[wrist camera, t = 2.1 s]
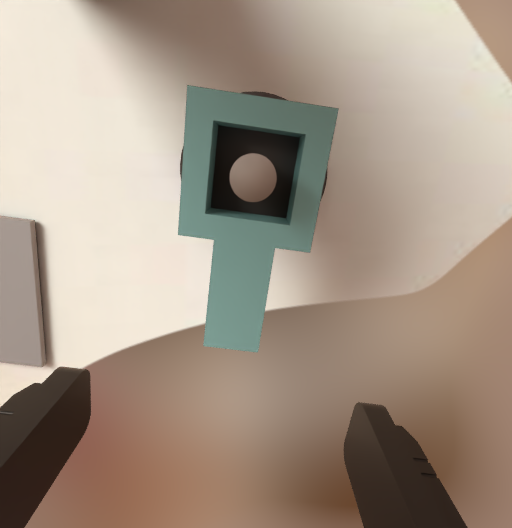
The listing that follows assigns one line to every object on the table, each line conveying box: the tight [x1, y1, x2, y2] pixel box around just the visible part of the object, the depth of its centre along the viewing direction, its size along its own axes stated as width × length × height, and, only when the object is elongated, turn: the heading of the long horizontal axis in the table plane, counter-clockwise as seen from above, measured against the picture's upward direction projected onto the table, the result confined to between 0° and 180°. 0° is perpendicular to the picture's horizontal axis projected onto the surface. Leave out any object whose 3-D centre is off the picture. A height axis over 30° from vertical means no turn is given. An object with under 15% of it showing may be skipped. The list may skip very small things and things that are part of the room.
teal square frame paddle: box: [178, 85, 338, 352], centre depth 16 cm, size 12×6×2 cm, turn 172°
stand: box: [180, 92, 327, 218], centre depth 18 cm, size 9×9×14 cm
